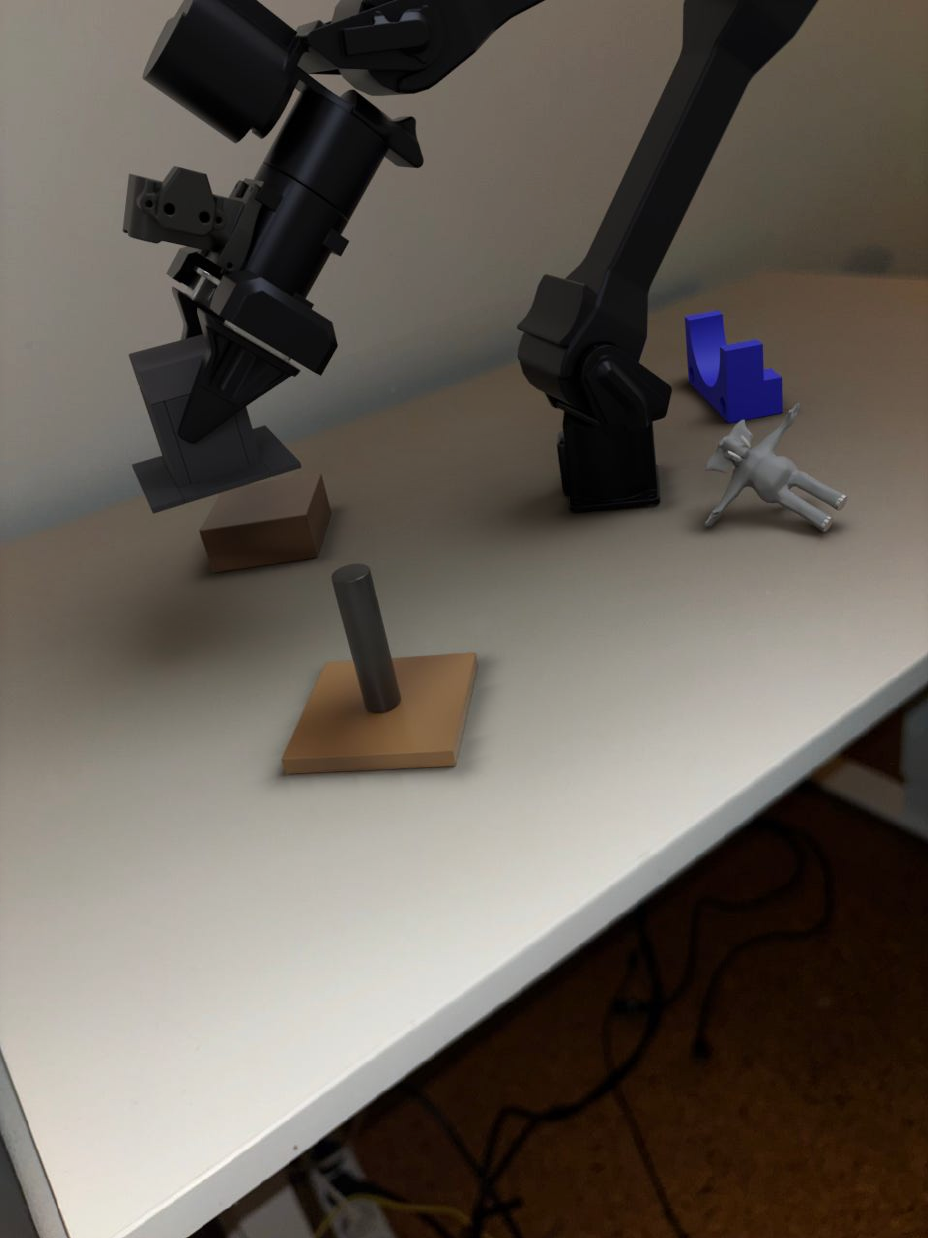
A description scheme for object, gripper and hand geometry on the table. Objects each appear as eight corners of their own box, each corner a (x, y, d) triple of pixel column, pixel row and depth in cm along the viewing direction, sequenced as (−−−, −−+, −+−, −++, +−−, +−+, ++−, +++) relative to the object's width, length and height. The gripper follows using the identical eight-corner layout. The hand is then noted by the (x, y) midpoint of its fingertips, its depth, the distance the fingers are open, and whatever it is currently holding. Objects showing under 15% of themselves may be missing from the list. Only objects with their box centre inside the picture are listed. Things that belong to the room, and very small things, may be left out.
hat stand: (478, 666, 59) (451, 524, 54) (455, 766, 51) (422, 610, 47) (328, 676, 60) (290, 539, 56) (285, 774, 53) (237, 625, 48)
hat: (266, 430, 69) (235, 318, 65) (301, 467, 61) (268, 343, 58) (133, 470, 66) (93, 356, 63) (153, 514, 59) (108, 387, 55)
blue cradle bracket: (782, 412, 84) (781, 340, 81) (728, 422, 84) (725, 351, 81) (736, 372, 95) (734, 306, 92) (688, 381, 95) (684, 316, 92)
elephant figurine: (779, 567, 63) (666, 493, 67) (795, 591, 68) (688, 521, 72) (883, 434, 62) (761, 368, 66) (890, 469, 67) (777, 405, 72)
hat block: (331, 512, 82) (321, 472, 80) (317, 557, 75) (306, 514, 73) (235, 527, 83) (222, 487, 81) (212, 573, 76) (198, 530, 74)
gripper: (154, 107, 63) (38, 332, 65) (211, 101, 47) (57, 397, 50) (307, 212, 69) (195, 415, 71) (403, 238, 53) (256, 496, 56)
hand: (177, 428), depth 62 cm, fingers closed on hat, 5 cm apart
